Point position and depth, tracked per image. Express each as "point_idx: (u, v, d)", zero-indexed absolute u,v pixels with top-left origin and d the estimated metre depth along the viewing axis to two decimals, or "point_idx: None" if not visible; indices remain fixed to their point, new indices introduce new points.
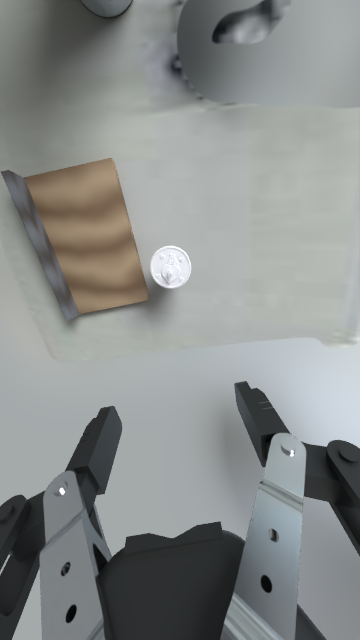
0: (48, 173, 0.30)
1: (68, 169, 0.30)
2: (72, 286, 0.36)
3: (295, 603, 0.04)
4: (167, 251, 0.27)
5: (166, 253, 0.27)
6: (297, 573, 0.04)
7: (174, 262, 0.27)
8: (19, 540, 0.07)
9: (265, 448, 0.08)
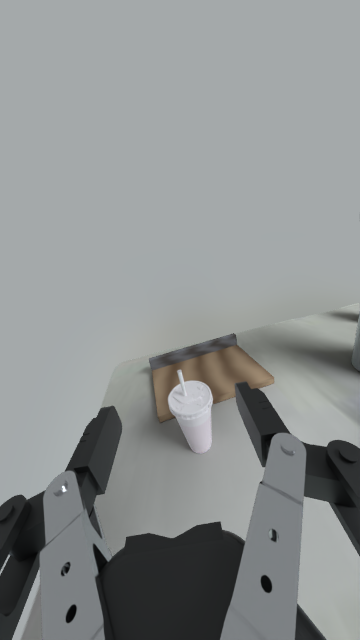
0: (244, 352, 0.47)
1: (252, 358, 0.43)
2: (173, 365, 0.47)
3: (295, 603, 0.04)
4: (205, 391, 0.26)
5: (203, 390, 0.26)
6: (297, 573, 0.04)
7: (195, 396, 0.25)
8: (19, 540, 0.07)
9: (265, 448, 0.08)
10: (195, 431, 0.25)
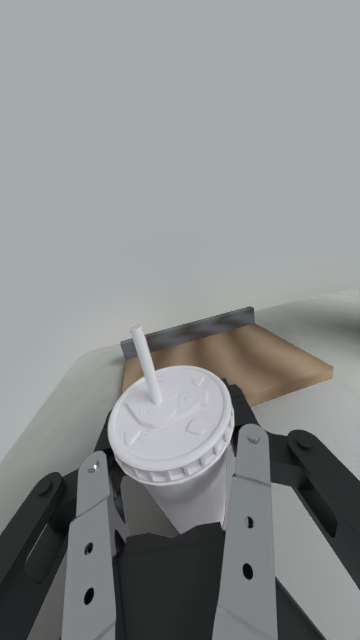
0: (268, 331, 0.30)
1: (283, 340, 0.27)
2: (159, 352, 0.31)
3: (273, 579, 0.04)
4: (213, 390, 0.10)
5: (207, 387, 0.10)
6: (272, 551, 0.05)
7: (185, 405, 0.09)
8: (54, 515, 0.07)
9: (236, 438, 0.09)
10: (183, 507, 0.08)
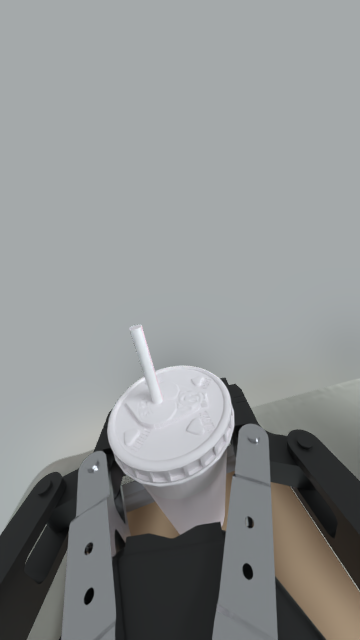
0: (293, 494, 0.20)
1: (321, 538, 0.17)
2: (132, 518, 0.21)
3: (273, 580, 0.04)
4: (213, 390, 0.10)
5: (207, 387, 0.10)
6: (272, 551, 0.05)
7: (185, 405, 0.09)
8: (54, 515, 0.07)
9: (236, 438, 0.09)
10: (183, 507, 0.08)
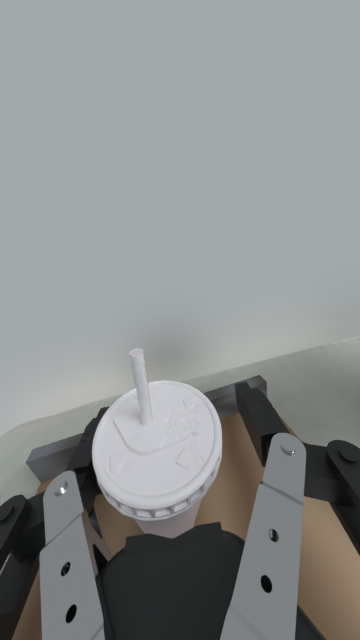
0: (295, 436, 0.17)
1: None
2: None
3: (295, 603, 0.04)
4: (204, 415, 0.10)
5: (198, 411, 0.10)
6: (297, 573, 0.04)
7: (175, 432, 0.09)
8: (19, 540, 0.07)
9: (265, 448, 0.08)
10: (160, 529, 0.09)
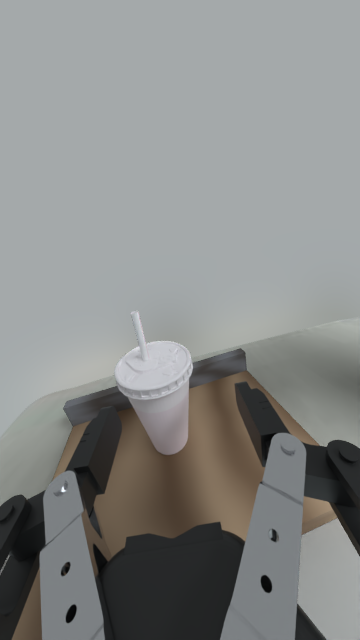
0: (264, 389, 0.22)
1: (284, 411, 0.19)
2: None
3: (295, 603, 0.04)
4: (181, 355, 0.16)
5: (178, 353, 0.16)
6: (297, 573, 0.04)
7: (162, 362, 0.14)
8: (19, 540, 0.07)
9: (265, 448, 0.08)
10: (158, 420, 0.14)
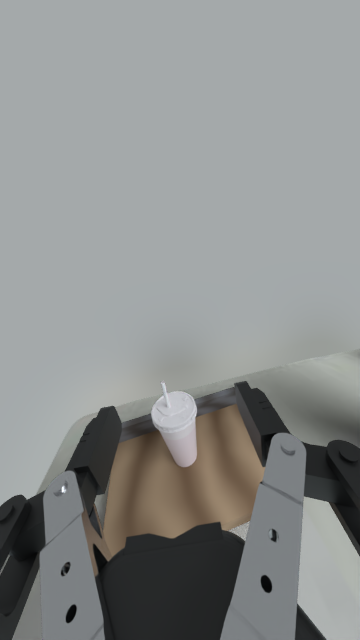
0: None
1: None
2: (146, 437, 0.33)
3: (295, 603, 0.04)
4: (190, 402, 0.26)
5: (187, 401, 0.26)
6: (297, 573, 0.04)
7: (179, 408, 0.25)
8: (19, 540, 0.07)
9: (265, 448, 0.08)
10: (178, 444, 0.24)
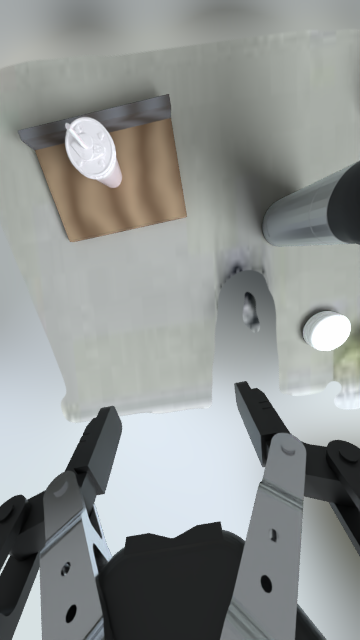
0: (174, 148, 0.32)
1: (178, 171, 0.33)
2: None
3: (295, 603, 0.04)
4: (107, 144, 0.24)
5: (105, 142, 0.24)
6: (297, 573, 0.04)
7: (96, 152, 0.24)
8: (19, 540, 0.07)
9: (265, 448, 0.08)
10: (102, 181, 0.29)
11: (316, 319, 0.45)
